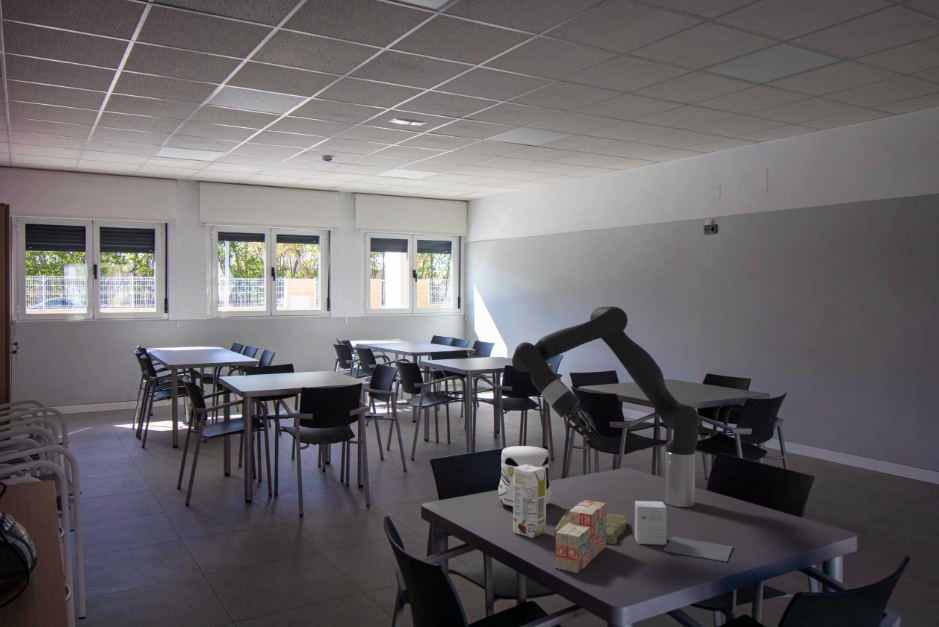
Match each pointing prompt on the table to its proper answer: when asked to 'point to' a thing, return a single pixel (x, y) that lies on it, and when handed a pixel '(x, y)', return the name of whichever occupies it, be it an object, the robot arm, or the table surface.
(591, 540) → the stack of blocks
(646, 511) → the small box
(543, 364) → the robot arm
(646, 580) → the table surface
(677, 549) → the mat
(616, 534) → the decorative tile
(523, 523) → the juice carton
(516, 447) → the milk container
